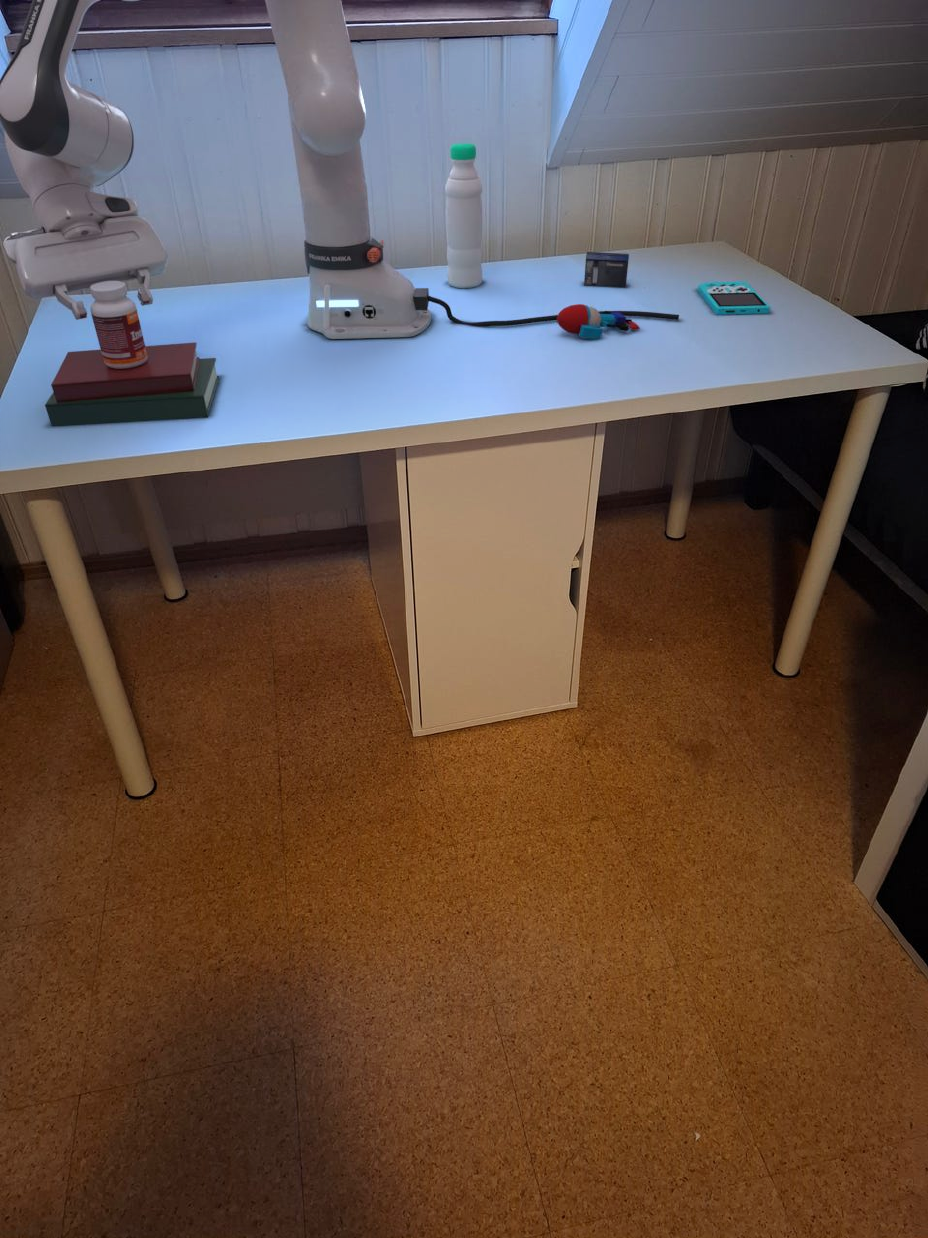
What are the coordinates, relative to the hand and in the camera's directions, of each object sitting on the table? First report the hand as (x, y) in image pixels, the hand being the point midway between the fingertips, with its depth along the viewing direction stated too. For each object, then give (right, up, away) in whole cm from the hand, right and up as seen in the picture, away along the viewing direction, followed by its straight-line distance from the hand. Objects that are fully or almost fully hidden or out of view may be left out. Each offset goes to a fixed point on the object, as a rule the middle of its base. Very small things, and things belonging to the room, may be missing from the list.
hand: (115, 309), depth 123 cm
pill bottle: (0, -6, +5) cm, 8 cm away
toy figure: (+72, +6, +29) cm, 78 cm away
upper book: (0, -8, +6) cm, 10 cm away
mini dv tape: (+78, +23, +50) cm, 95 cm away
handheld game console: (+100, +16, +42) cm, 110 cm away
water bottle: (+50, +24, +52) cm, 76 cm away
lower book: (+1, -11, +8) cm, 14 cm away
